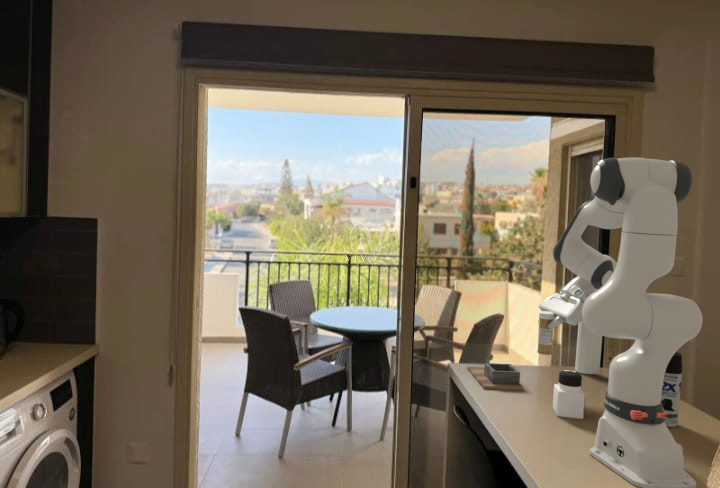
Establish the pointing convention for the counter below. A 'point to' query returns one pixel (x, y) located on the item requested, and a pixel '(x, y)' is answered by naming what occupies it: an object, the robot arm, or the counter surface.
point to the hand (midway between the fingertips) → (544, 325)
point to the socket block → (497, 376)
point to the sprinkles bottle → (545, 333)
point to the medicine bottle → (569, 395)
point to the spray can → (672, 390)
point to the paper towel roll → (588, 351)
